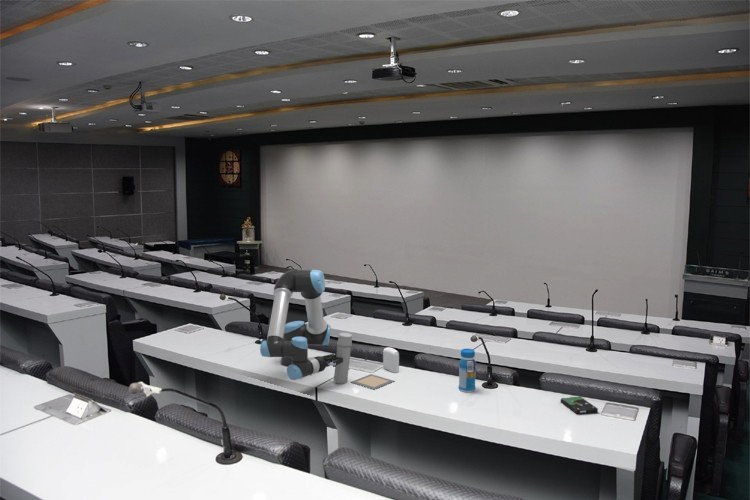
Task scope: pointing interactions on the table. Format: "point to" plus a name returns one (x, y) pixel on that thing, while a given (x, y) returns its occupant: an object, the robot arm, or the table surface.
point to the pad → (372, 381)
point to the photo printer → (391, 359)
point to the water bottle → (343, 352)
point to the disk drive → (579, 405)
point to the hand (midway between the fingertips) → (348, 354)
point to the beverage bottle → (467, 370)
